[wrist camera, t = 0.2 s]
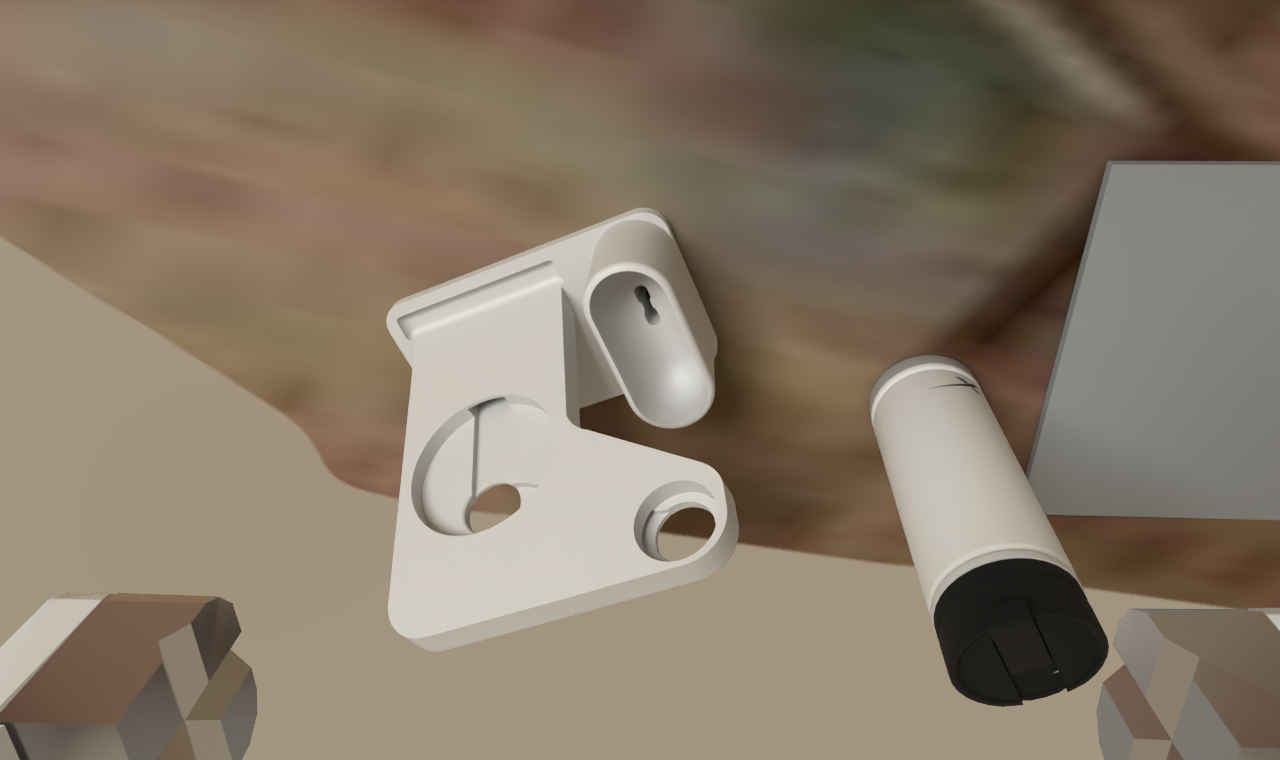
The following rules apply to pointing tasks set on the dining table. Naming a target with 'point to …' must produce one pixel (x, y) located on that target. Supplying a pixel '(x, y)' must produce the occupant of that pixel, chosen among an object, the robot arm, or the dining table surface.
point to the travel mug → (981, 540)
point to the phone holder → (551, 434)
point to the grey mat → (1170, 350)
